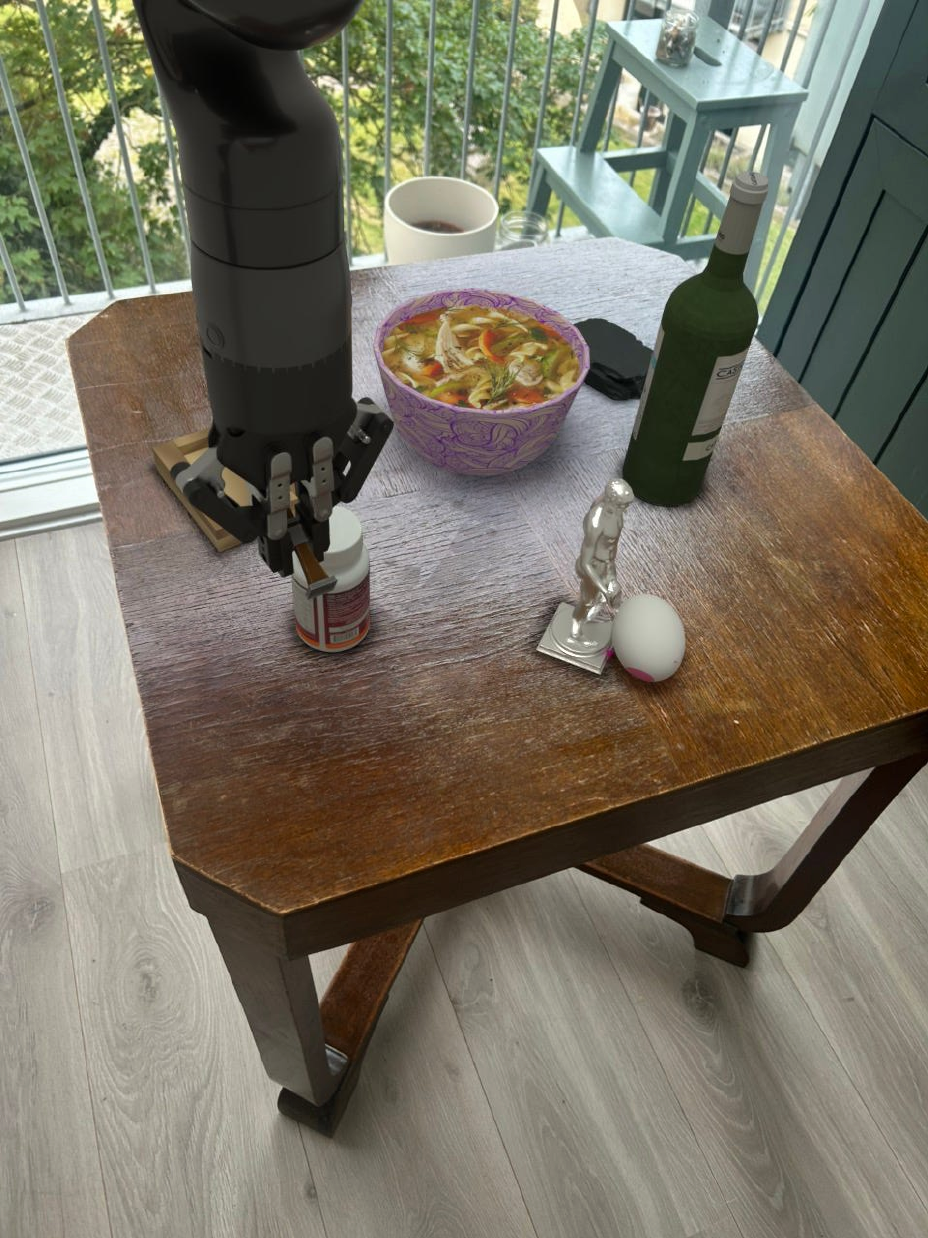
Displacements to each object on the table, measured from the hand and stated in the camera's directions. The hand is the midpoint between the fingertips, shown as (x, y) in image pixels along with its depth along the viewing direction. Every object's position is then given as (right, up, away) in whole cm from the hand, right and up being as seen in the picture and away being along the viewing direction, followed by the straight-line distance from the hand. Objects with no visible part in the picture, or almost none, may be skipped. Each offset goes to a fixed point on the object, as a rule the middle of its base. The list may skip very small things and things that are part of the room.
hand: (295, 561), depth 60 cm
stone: (+27, +24, +46) cm, 59 cm away
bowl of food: (+11, +14, +36) cm, 40 cm away
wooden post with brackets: (0, 0, 0) cm, 0 cm away
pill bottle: (0, -4, +19) cm, 20 cm away
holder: (-11, +8, +29) cm, 32 cm away
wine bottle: (+30, +10, +35) cm, 47 cm away
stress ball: (+26, -7, +19) cm, 33 cm away
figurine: (+20, -6, +20) cm, 29 cm away
